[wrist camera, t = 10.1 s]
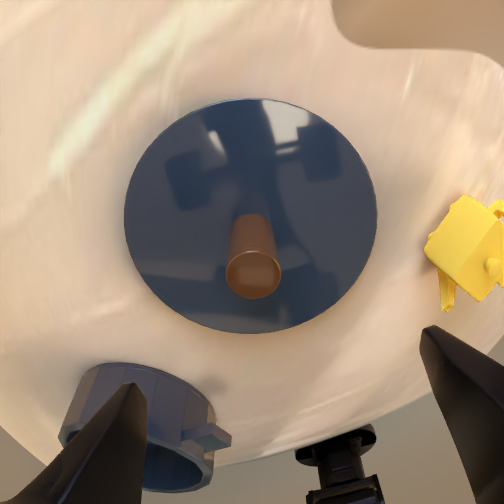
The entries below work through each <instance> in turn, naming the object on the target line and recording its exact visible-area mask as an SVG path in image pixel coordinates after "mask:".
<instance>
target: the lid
mask: <svg viewBox="0 0 504 504" xmlns="http://www.w3.org/2000/svg"><path fill="white" fill-rule="evenodd" d="M124 227H125V234H126V241H127V244H128V248H129V251H130V255H131V257H132V259H133V262H134V264H135V266H136V268H137V270H138V272H139V273H140V275H141V277H142V278H143V280H144V281H145V283H146V284H147V285H148V286H149V288H150V289H151V290H152V291H153V293H154V294H155V295H156V296H157V297H158V298H159V299H160V300H161V301H163V302H164V303H165V304H166V305H167V306H169V307H170V308H171V309H173V310H174V311H175V312H177V313H179V314H180V315H182V316H184V317H185V318H187V319H189V320H191V321H193V322H195V323H198V324H200V325H203V326H206V327H209V328H212V329H215V330H220V331H224V332H230V333H239V334H260V333H270V332H275V331H280V330H284V329H288V328H291V327H294V326H297V325H299V324H302V323H304V322H306V321H309V320H311V319H313V318H314V317H316V316H318V315H319V314H321V313H323V312H324V311H326V310H327V309H328V308H330V307H331V306H332V305H334V304H335V303H336V302H337V301H338V300H339V299H340V298H341V297H343V296H344V295H345V294H346V293H347V291H348V290H349V289H350V288H351V287H352V285H353V284H354V283H355V282H356V280H357V278H358V277H359V275H360V274H361V272H362V271H363V269H364V267H365V265H366V263H367V261H368V258H369V256H370V253H371V250H372V247H373V244H374V239H375V234H376V228H377V205H376V196H375V192H374V188H373V184H372V181H371V178H370V176H369V173H368V171H367V168H366V166H365V164H364V163H363V161H362V159H361V157H360V156H359V154H358V152H357V151H356V150H355V148H354V147H353V146H352V145H351V143H350V142H349V141H348V140H347V139H346V138H345V137H344V136H343V135H342V134H341V133H340V132H339V131H338V130H337V129H336V128H335V127H334V126H332V125H331V124H329V123H328V122H326V121H325V120H324V119H322V118H321V117H319V116H317V115H315V114H313V113H311V112H309V111H307V110H305V109H303V108H301V107H298V106H295V105H292V104H289V103H286V102H281V101H276V100H270V99H260V98H242V99H233V100H226V101H222V102H218V103H214V104H211V105H207V106H205V107H202V108H200V109H198V110H195V111H193V112H191V113H189V114H187V115H185V116H184V117H182V118H181V119H179V120H177V121H176V122H174V123H173V124H172V125H170V126H169V127H168V128H167V129H166V130H164V131H163V132H162V133H161V134H160V135H159V136H158V137H157V138H156V139H155V140H154V141H153V142H152V144H151V145H150V146H149V147H148V148H147V150H146V151H145V153H144V154H143V156H142V157H141V159H140V160H139V162H138V164H137V166H136V168H135V170H134V172H133V175H132V177H131V180H130V183H129V186H128V190H127V193H126V200H125V207H124Z"/></svg>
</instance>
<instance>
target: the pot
mask: <svg viewBox="0 0 504 504" xmlns="http://www.w3.org/2000/svg"><path fill="white" fill-rule="evenodd" d="M128 382H134V383H136V384H137V385H138V387H139V388H140V389H141V391H142V392H143V394H144V395H145V397H146V399H147V403H148V408H147V447H146V456H145V465H144V475H143V485H142V490H145V491H151V492H162V493H182V492H190V491H196V490H198V489H200V488H203V487H205V486H207V485H209V484H210V481H211V478H212V476H213V465H214V451H215V450H219V449H223V448H227V447H230V446H231V438H232V436H231V435H230V434H228V433H227V432H225V431H224V430H223V429H221V428H220V427H218V426H217V425H216V419H215V413H214V410H213V407H212V406H211V404H210V402H209V401H208V400H207V399H206V397H205V396H204V395H203V394H201V393H200V392H199V391H198V390H197V389H195V388H194V387H193V386H191V385H190V384H188V383H186V382H185V381H183V380H181V379H179V378H177V377H175V376H173V375H171V374H168V373H166V372H163V371H160V370H157V369H154V368H150V367H147V366H142V365H137V364H129V363H108V364H102V365H99V366H96V367H93V368H92V369H90V370H88V371H87V372H86V373H85V374H84V375H83V377H82V379H81V381H80V383H79V386H78V388H77V390H76V393H75V395H74V397H73V400H72V402H71V404H70V407H69V409H68V412H67V414H66V417H65V419H64V422H63V424H62V427H61V429H60V432H59V435H58V439H59V441H60V443H61V444H62V446H63V448H65V447H66V445H67V444H68V443H69V442H70V441H71V440H72V439H73V438H74V437H75V436H76V434H77V433H78V432H79V431H80V430H81V429H82V428H83V427H84V426H85V424H86V423H87V422H88V421H89V420H90V419H91V418H92V417H93V416H94V414H95V413H96V412H97V411H98V410H99V409H100V408H101V407H102V406H103V405H104V403H105V402H106V401H107V400H108V399H109V398H110V397H111V396H112V395H113V393H114V392H115V391H116V390H117V389H118V388H119V387H120V386H121V385H122V384H123V383H128Z"/></svg>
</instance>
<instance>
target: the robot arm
mask: <svg viewBox="0 0 504 504" xmlns="http://www.w3.org/2000/svg"><path fill="white" fill-rule="evenodd" d="M419 349H420V355H421V357H422V360H423V363H424V366H425V369H426V372H427V375H428V378H429V381H430V384H431V387H432V390H433V393H434V396H435V398H436V400H437V403H438V405H439V407H440V409H441V412H442V414H443V416H444V419H445V421H446V423H447V426H448V428H449V430H450V433H451V435H452V438H453V440H454V443H455V445H456V447H457V450H458V453H459V455H460V458H461V460H462V463H463V466H464V468H465V471H466V474H467V477H468V480H469V482H470V485H471V488H472V491H473V494H474V497H475V501H476V504H504V366H502V365H501V364H499V363H498V362H496V361H494V360H493V359H491V358H489V357H488V356H486V355H485V354H483V353H481V352H480V351H478V350H476V349H475V348H473V347H471V346H470V345H468V344H466V343H465V342H463V341H461V340H460V339H458V338H456V337H455V336H453V335H451V334H450V333H448V332H446V331H445V330H443V329H441V328H440V327H438V326H436V325H432V326H429V327H426V328H424V329H423V330H422V335H421V341H420V347H419ZM147 408H148V403H147V399H146V397H145V395H144V394H143V392H142V391H141V389H140V388H139V387H138V385H137V384H136V383H134V382H128V383H123V384H122V385H121V386H120V387H119V388H118V389H117V390H116V391H115V392H114V393H113V395H112V396H111V397H110V398H109V399H108V400H107V401H106V402H105V403H104V405H103V406H102V407H101V408H100V409H99V410H98V411H97V412H96V413H95V414H94V416H93V417H92V418H91V419H90V420H89V421H88V422H87V423H86V424H85V426H84V427H83V428H82V429H81V430H80V431H79V432H78V433H77V434H76V436H75V437H74V438H73V439H72V440H71V441H70V442H69V443H68V444H67V445H66V447H65V448H64V449H63V450H62V451H61V452H60V454H58V455H57V457H56V458H55V459H54V460H53V461H52V462H51V463H50V464H49V465H48V466H47V467H46V468H45V469H44V470H43V471H42V472H41V473H40V474H39V475H38V476H37V477H36V478H35V479H34V480H33V481H32V482H31V483H30V484H28V485H27V486H26V487H25V488H24V489H23V490H22V491H21V492H20V493H19V494H18V495H16V496H15V497H13V498H12V499H10V500H8V501H5V502H0V504H141V495H142V485H143V475H144V465H145V456H146V447H147ZM361 441H362V437H361V435H355V436H351V437H347V438H343V439H338V440H334V441H329V442H325V443H320V444H315V445H312V446H311V450H312V455H313V461H314V465H315V466H317V467H318V473H319V480H320V486H321V489H320V490H315V491H313V490H311V491H309V494H308V495H306V503H307V504H385V502H384V498H383V494H382V491H381V488H380V484H379V481H378V477H377V474H374V475H372V476H370V477H367V478H365V474H364V470H363V465H362V461H361V457H360V450H361Z"/></svg>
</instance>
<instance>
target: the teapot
mask: <svg viewBox="0 0 504 504" xmlns="http://www.w3.org/2000/svg"><path fill="white" fill-rule="evenodd" d="M502 216H504V201H502V200H501V199H498V200H496V201H495V202H494V203H492V204H491V205H490V206H488V207H487V208H486V207H485V206H483V205H482V204H481V203H479V202H478V201H477V200H475V199H474V198H472V197H470V196H467V195H462V196H461V197H460V198H459V200H458V201H457V202H454V203H452V204H451V206H450V208H449V213H448V214H447V215H446V216H445V218H444V219H443V221H442V222H441V223H440V225H439V226H438V228H437V229H436V231H433V232H432V233H430V235H429V236H428V242H427V244H426V246H425V247H424V250H423V251H424V253H425V254H426V256H427V257H428V259H429V260H430V261H431V262H432V263H433V264H434V265H435V266H436V267H438V276H439V285H440V294H441V305H442V310H443V311H445V312H447V311H449V310H450V309H451V308H452V307H454V306H453V303H454V297H455V290H456V285H458V286H459V287H460V288H462V289H463V290H464V291H465V292H467V293H468V294H469V295H470V296H472V297H473V298H474V299H475V300H477V301H478V302H480V301H481V300H482V299H483V298H484V297H485V296H486V295H487V294H488V293H489V292H490V290H491V289H492V288H493V287H494V286H495V284H496V283H498V284H499V285H500V286H501V287H502V288H503V287H504V223H503V224H502V222H501V221H500V220H499V218H500V217H502Z"/></svg>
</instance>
